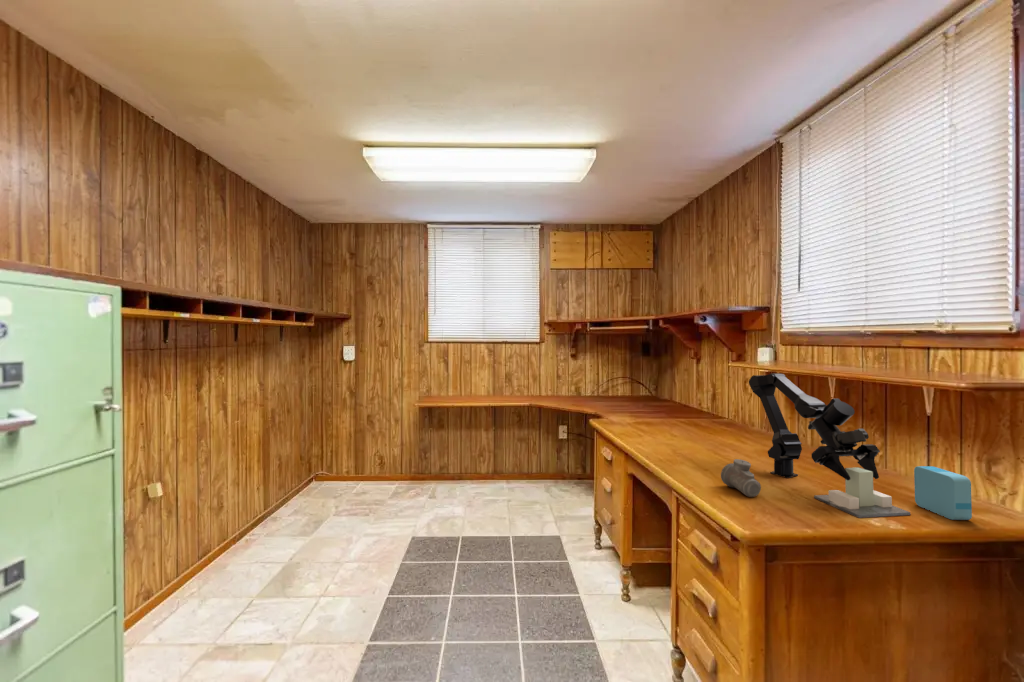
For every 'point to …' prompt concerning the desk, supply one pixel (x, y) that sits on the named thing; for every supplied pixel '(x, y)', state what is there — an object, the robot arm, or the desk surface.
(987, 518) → the desk surface
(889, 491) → the desk surface
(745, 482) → the pipe fitting
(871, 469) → the robot arm
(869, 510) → the mounting plate
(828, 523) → the desk surface
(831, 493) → the mounted modules
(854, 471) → the block
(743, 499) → the desk surface
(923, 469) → the data package
